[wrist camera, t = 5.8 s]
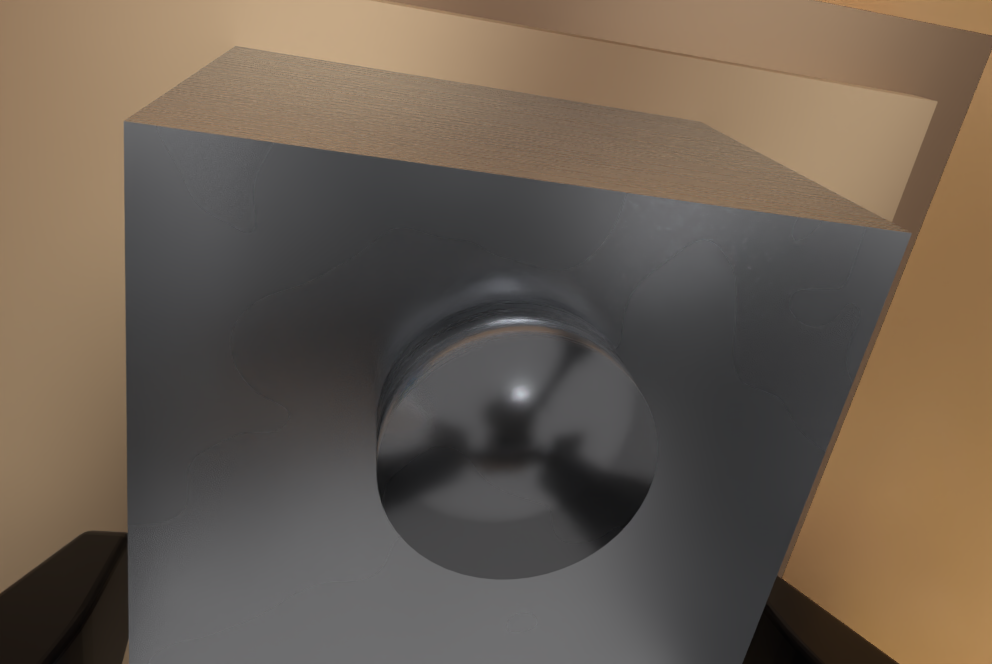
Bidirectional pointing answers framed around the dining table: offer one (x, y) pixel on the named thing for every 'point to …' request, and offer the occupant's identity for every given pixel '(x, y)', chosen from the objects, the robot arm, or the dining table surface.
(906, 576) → the dining table surface
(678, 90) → the tray
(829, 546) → the dining table surface
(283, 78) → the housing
